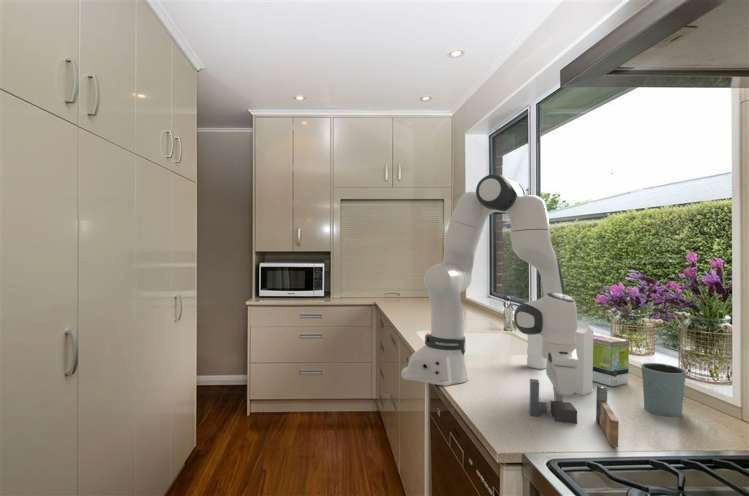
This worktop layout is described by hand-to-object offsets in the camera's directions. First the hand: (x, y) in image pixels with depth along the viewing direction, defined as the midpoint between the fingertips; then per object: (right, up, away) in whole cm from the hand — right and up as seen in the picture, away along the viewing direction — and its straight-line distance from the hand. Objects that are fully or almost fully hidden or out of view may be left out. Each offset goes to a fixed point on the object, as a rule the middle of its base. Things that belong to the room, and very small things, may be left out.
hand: (558, 401), depth 113 cm
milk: (+13, -2, +15) cm, 20 cm away
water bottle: (+11, -3, +41) cm, 43 cm away
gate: (+4, -1, -17) cm, 18 cm away
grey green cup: (+29, -3, 0) cm, 29 cm away
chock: (-2, -2, -7) cm, 8 cm away
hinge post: (+7, -2, -9) cm, 12 cm away
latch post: (-8, -1, -5) cm, 9 cm away
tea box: (+27, -3, +28) cm, 39 cm away
